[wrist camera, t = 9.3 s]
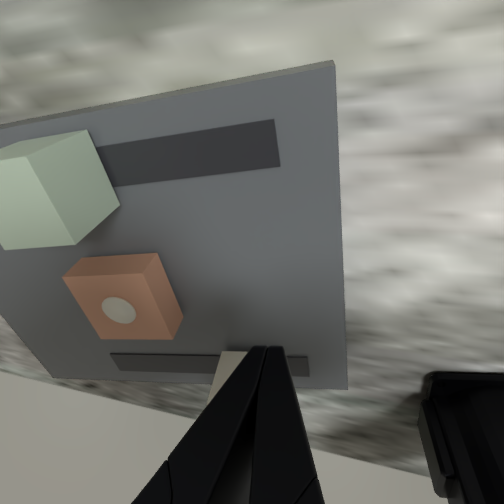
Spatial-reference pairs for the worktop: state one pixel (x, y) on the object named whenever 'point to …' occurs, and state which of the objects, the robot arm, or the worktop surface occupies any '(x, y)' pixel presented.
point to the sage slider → (52, 191)
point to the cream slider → (225, 370)
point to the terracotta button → (126, 296)
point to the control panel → (203, 231)
